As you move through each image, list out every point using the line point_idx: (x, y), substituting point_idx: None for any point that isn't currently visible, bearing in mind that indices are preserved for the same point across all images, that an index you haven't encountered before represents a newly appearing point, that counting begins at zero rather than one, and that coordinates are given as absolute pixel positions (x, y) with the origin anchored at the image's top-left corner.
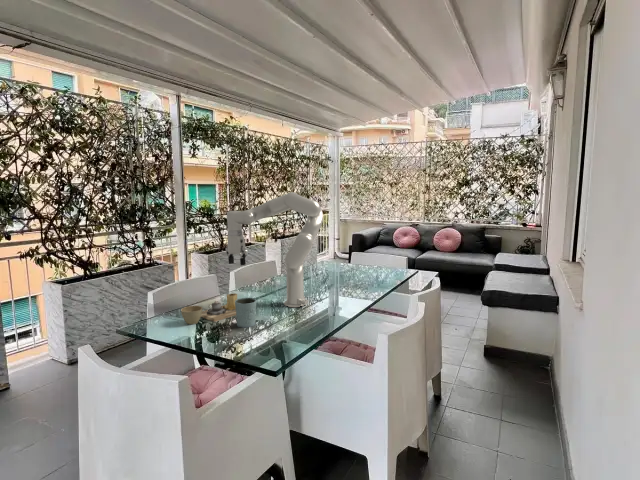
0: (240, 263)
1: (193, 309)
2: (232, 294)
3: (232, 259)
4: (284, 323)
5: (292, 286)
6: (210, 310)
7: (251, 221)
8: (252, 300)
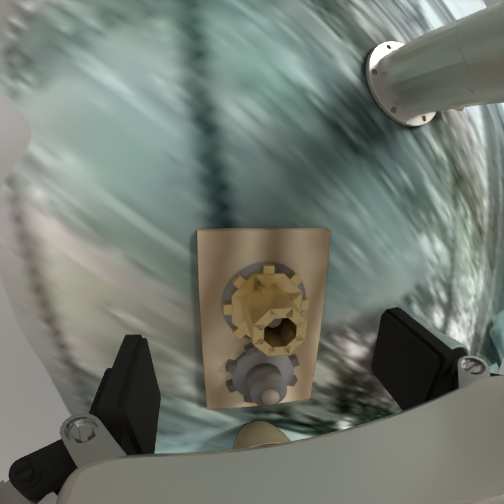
0: (385, 383)
1: (239, 445)
2: (269, 322)
3: (142, 393)
4: (467, 260)
5: (475, 105)
6: (245, 390)
7: None
8: (448, 346)
